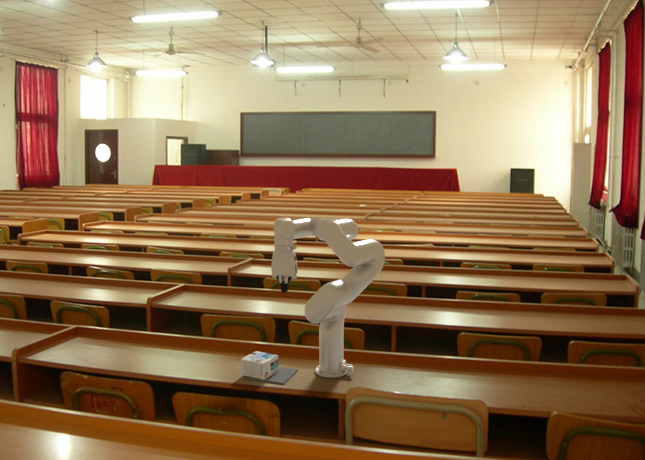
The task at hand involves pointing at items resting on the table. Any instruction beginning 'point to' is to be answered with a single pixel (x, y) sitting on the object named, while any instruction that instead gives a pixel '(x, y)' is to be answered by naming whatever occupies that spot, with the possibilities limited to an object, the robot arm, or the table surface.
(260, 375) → the light bulb box
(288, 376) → the mat
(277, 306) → the table surface
